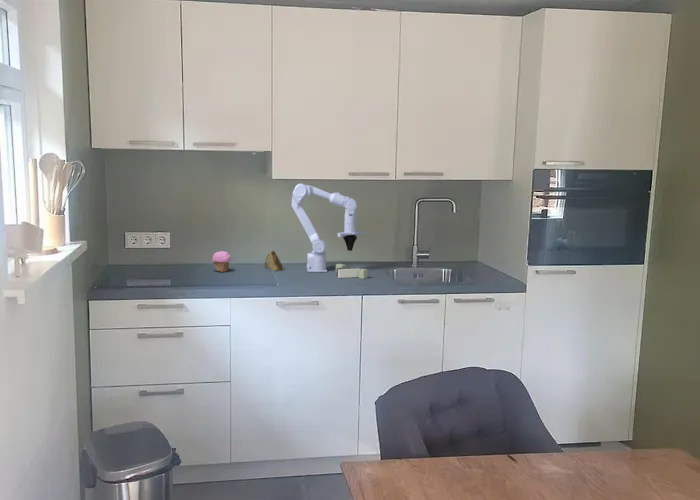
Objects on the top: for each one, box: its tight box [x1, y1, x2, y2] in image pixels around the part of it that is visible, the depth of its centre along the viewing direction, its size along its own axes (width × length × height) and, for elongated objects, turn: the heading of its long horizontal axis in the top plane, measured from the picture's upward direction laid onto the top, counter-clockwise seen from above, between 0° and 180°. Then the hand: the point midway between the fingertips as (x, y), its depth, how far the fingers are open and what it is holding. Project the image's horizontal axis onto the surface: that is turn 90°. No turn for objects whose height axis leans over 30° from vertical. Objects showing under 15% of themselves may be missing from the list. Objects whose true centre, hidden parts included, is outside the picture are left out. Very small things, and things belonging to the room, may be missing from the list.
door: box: [338, 267, 362, 279], centre depth 309 cm, size 1×11×4 cm, turn 114°
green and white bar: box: [335, 263, 368, 279], centre depth 315 cm, size 2×20×4 cm, turn 42°
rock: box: [264, 250, 285, 272], centre depth 326 cm, size 11×9×10 cm
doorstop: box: [335, 266, 352, 277], centre depth 312 cm, size 5×5×4 cm
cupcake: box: [211, 250, 232, 273], centre depth 315 cm, size 9×9×10 cm
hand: (349, 250), depth 324 cm, fingers closed
